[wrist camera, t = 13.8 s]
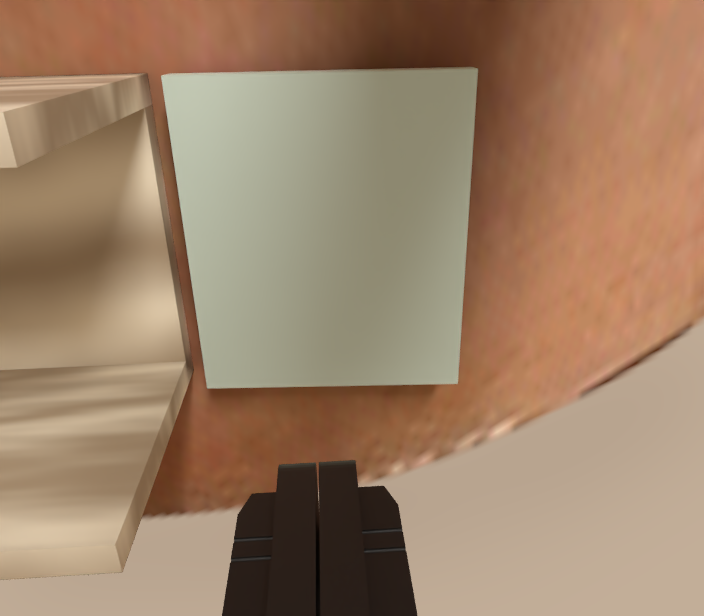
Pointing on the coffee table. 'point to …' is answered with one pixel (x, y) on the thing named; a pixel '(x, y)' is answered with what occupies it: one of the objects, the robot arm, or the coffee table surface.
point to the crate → (83, 321)
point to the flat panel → (325, 222)
